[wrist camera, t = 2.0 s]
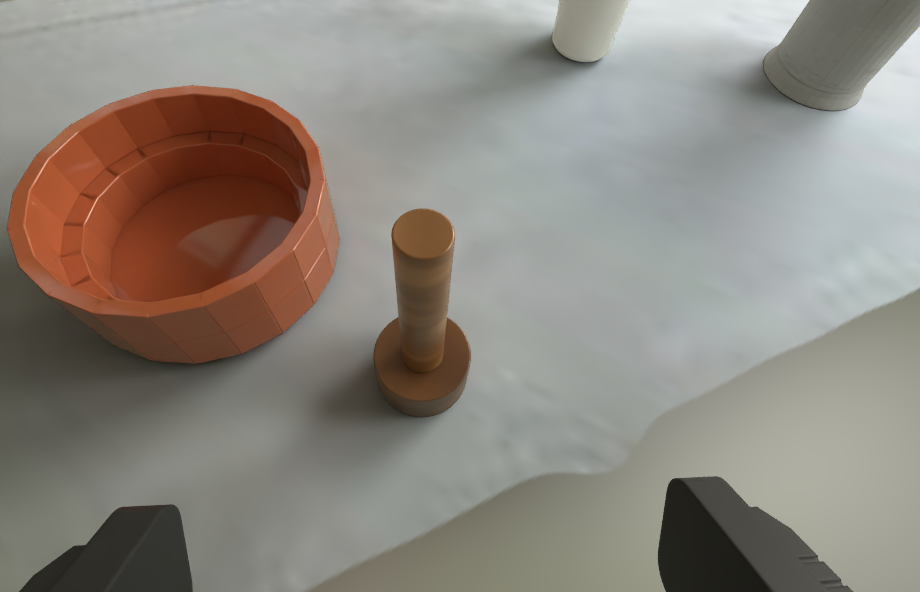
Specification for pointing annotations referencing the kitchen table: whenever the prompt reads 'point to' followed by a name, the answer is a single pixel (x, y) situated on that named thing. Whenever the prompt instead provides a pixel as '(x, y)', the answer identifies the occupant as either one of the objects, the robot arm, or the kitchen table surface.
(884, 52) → the pitcher
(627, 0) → the drinking glass
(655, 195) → the kitchen table surface
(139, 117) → the bowl
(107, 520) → the robot arm
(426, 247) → the wooden knob stand
